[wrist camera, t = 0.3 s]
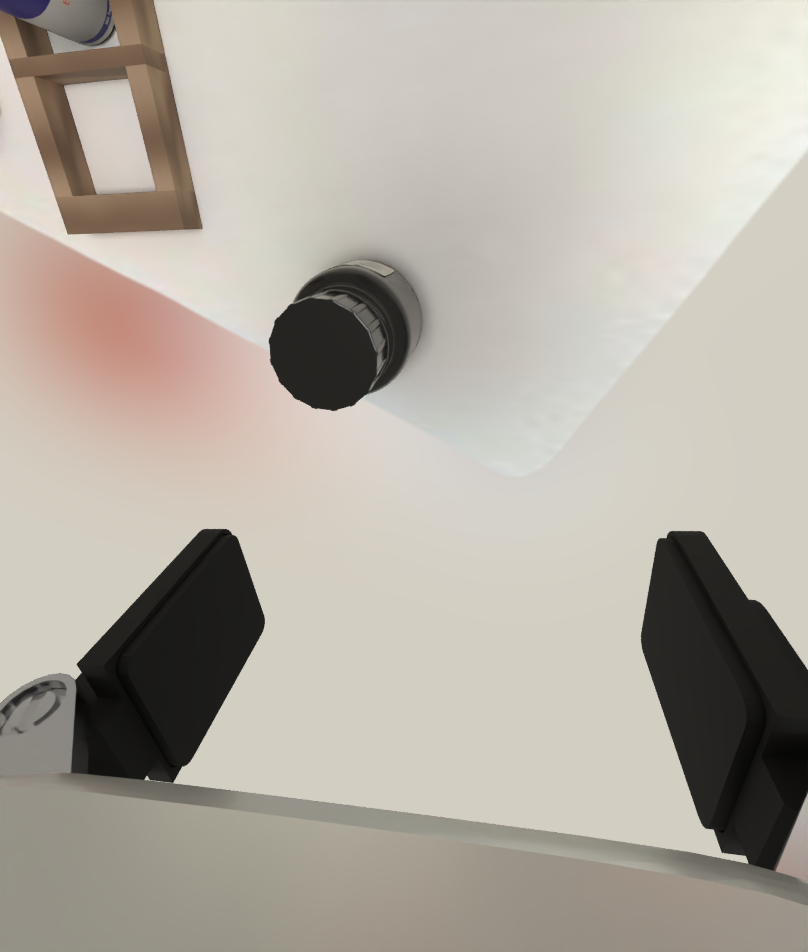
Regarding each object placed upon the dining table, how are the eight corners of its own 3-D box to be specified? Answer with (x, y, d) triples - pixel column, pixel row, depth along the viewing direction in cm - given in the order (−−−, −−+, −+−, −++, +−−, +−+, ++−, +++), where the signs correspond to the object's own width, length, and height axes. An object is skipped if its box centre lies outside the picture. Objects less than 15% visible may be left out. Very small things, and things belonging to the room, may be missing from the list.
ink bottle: (383, 230, 35) (337, 237, 25) (448, 330, 38) (430, 374, 28) (291, 307, 39) (218, 340, 29) (356, 393, 42) (311, 452, 31)
